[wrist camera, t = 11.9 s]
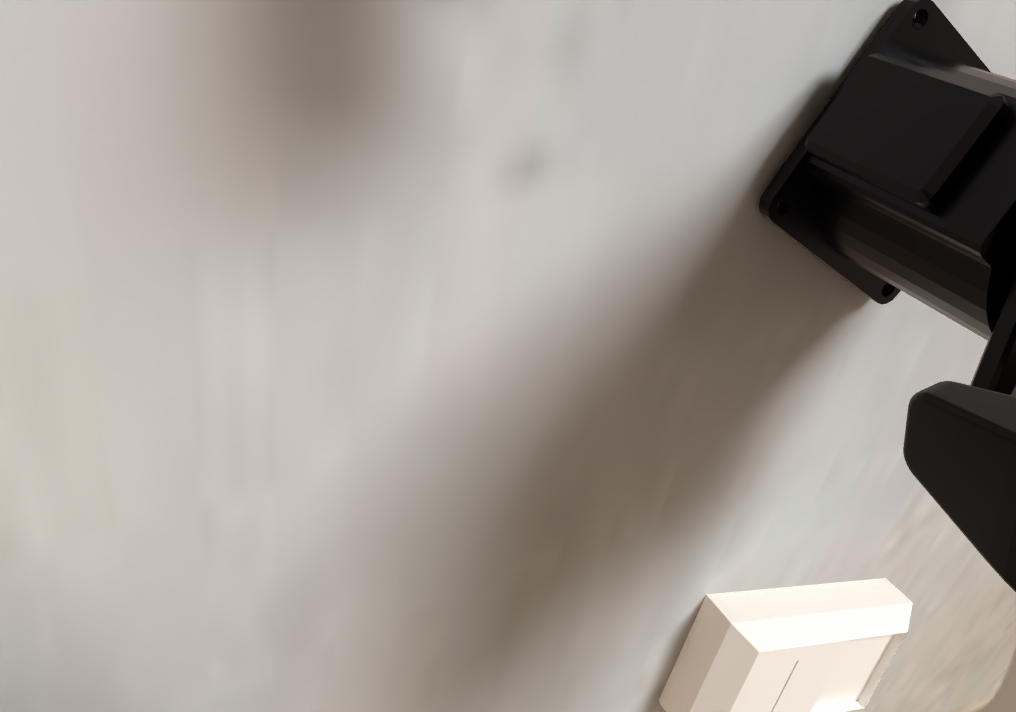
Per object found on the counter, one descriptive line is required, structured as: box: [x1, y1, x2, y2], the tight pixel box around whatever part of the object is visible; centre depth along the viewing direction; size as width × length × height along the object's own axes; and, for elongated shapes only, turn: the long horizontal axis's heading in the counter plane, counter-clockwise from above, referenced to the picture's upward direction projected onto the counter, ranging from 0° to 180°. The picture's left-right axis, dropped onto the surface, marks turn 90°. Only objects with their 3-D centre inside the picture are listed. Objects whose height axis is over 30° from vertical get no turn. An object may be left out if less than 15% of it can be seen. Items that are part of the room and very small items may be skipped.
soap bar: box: [658, 578, 912, 712], centre depth 35 cm, size 5×9×3 cm, turn 73°
